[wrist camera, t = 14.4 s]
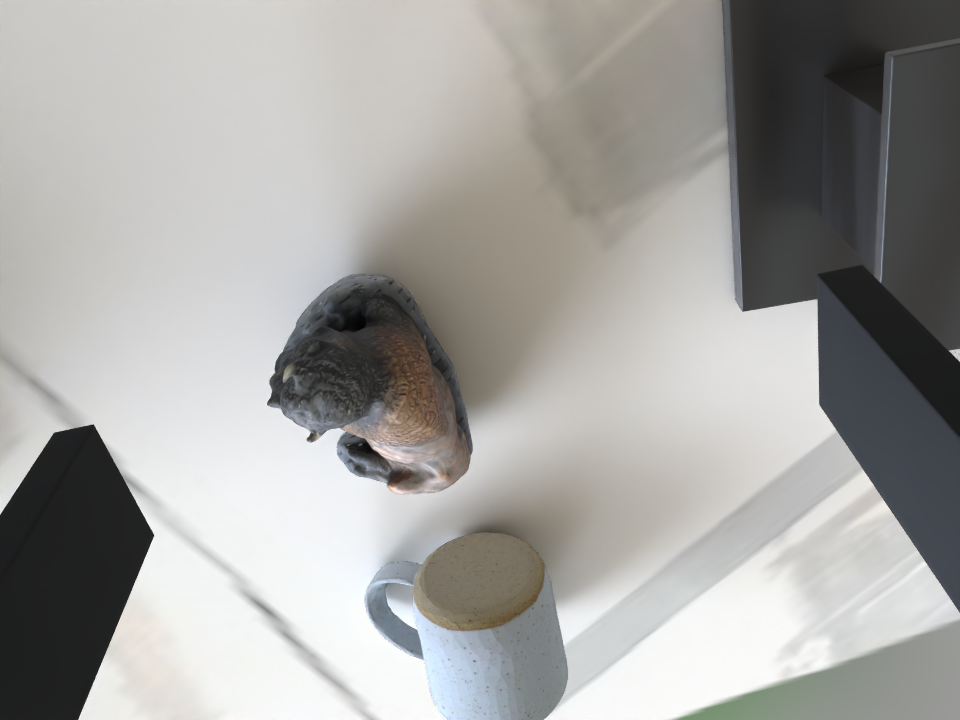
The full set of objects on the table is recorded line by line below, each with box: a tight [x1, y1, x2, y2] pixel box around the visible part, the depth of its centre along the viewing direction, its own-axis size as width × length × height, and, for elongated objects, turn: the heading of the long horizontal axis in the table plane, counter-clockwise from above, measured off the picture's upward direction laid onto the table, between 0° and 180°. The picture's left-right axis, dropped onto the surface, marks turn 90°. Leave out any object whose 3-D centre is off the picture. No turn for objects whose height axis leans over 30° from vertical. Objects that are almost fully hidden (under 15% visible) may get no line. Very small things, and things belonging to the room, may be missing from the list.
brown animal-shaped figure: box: [267, 275, 473, 494], centre depth 38 cm, size 12×7×10 cm, turn 23°
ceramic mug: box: [365, 532, 568, 720], centre depth 46 cm, size 11×8×8 cm
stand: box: [722, 0, 960, 350], centre depth 33 cm, size 10×14×9 cm
